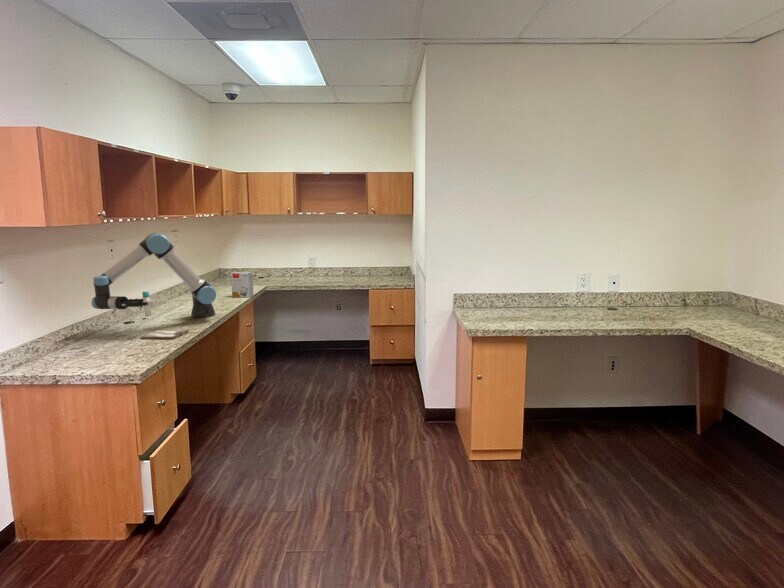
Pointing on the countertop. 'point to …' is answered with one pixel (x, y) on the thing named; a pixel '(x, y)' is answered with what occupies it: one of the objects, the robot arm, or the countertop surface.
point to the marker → (146, 308)
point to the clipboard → (165, 334)
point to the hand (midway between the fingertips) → (155, 302)
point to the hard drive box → (242, 284)
